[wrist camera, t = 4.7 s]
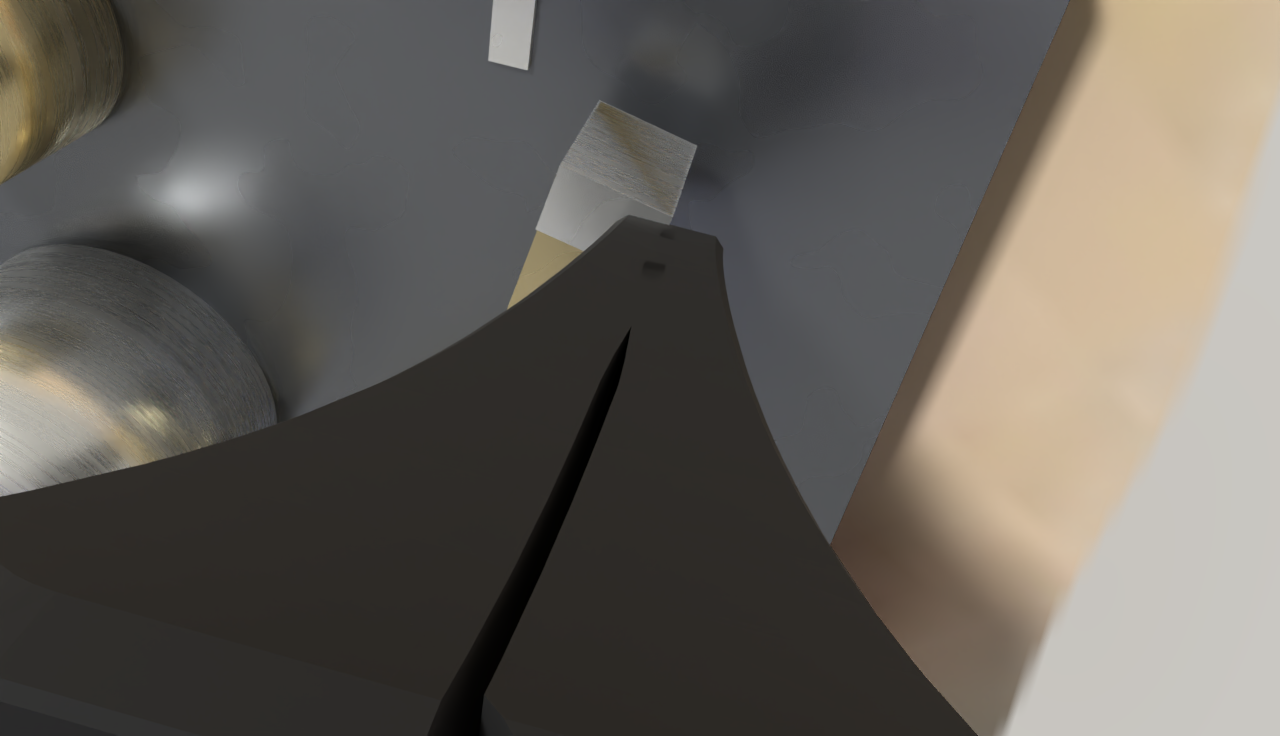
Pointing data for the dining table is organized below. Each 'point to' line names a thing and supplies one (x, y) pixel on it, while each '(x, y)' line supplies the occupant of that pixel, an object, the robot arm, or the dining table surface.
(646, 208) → the brass lever handle
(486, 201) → the levelling base
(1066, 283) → the dining table surface
